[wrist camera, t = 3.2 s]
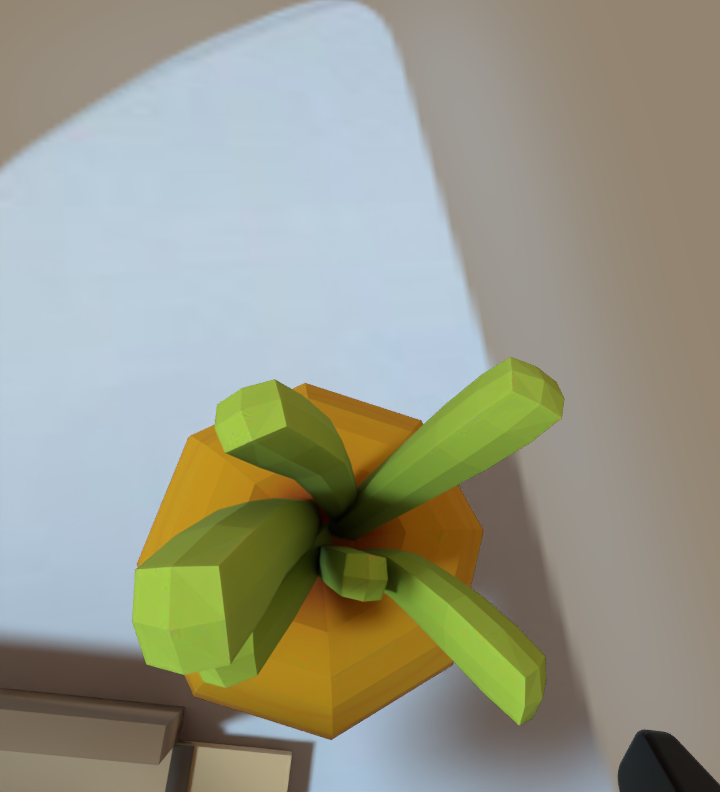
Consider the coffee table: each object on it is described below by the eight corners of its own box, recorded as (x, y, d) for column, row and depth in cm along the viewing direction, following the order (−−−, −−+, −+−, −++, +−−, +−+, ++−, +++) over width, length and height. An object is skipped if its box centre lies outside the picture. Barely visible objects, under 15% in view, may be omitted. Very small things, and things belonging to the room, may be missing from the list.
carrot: (373, 488, 20) (598, 189, 6) (392, 662, 18) (756, 830, 4) (209, 502, 19) (5, 200, 5) (214, 683, 18) (-52, 965, 4)
